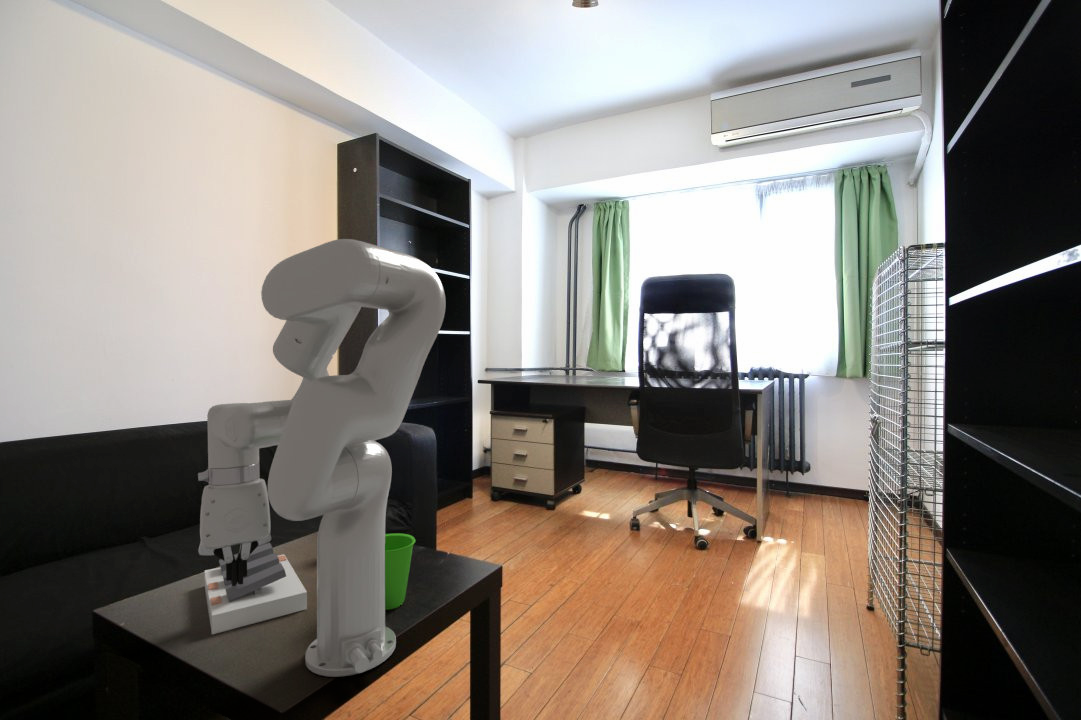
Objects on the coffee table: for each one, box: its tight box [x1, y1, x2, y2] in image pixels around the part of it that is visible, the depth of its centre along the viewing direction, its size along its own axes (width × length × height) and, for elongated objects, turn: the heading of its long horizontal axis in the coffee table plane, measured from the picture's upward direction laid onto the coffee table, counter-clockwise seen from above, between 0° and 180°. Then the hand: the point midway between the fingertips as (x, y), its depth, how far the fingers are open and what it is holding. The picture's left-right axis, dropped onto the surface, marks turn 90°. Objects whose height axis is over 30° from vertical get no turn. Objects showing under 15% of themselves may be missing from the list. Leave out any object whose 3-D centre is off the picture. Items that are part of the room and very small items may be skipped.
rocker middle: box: [222, 552, 279, 586], centre depth 95 cm, size 4×9×1 cm, turn 126°
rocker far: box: [218, 542, 275, 572], centre depth 100 cm, size 4×9×1 cm, turn 126°
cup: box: [385, 532, 416, 611], centre depth 91 cm, size 9×9×11 cm
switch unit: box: [204, 553, 308, 635], centre depth 94 cm, size 22×14×4 cm, turn 36°
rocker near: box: [225, 563, 286, 602], centre depth 89 cm, size 4×9×1 cm, turn 126°
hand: (236, 582), depth 87 cm, fingers closed
